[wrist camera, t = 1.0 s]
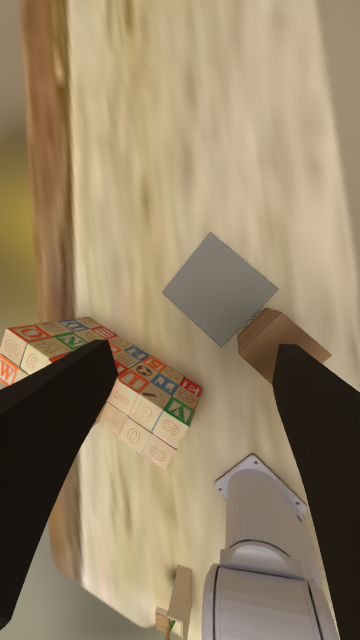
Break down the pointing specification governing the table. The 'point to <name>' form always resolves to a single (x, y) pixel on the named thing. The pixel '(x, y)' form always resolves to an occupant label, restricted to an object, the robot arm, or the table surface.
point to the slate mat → (218, 289)
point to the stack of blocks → (129, 389)
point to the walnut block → (274, 341)
